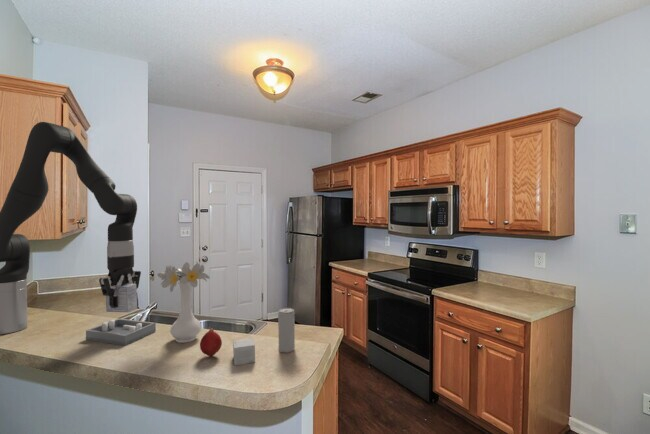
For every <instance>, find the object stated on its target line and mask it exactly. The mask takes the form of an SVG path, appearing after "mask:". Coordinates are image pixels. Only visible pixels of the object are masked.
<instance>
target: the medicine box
mask: <svg viewBox="0 0 650 434" xmlns="http://www.w3.org/2000/svg"><path fill="white" fill-rule="evenodd" d="M114 286H116V285H114ZM113 292H114V289H113ZM137 293H138V292H137V289H136V284H135V283H134V284H123V285H121V287H120V289H119V290H118V293H117V296H118V307H117V308H111V306H110V305H109V296H105V307H106V308H105V312H106V313H130V312H133V311H135V310H137V308H138V294H137Z"/></svg>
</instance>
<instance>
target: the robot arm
mask: <svg viewBox="0 0 650 434" xmlns="http://www.w3.org/2000/svg"><path fill="white" fill-rule="evenodd" d="M24 149H25V150H24V151H23V152H24V153H23V156H22V159H21V162H20V164H19V167H18V169H17V172H16V175H15V177H14V179H13V181H12V183H11V185H10V188H9V189H8V192H7V194H6V197H5V200H4V203H3V204H2V207H1V208H0V263H2V262H3V263H5V264H4V265H3V266H2V267H1V268H0V335H3V334H5V335H6V334H12V333H16V332H18V331H22V330H24V329H26V328H27V327H28V282H27V281H28V279H27V277H28V276H27V275H28V273H29V269H30V259H31V257H30V256H31V255H30V254H31V246H30V245H31V244H30V241H29V239H28V237H26V236H25V235H24V234H20V233H15V232H16V230H17V229H18V228H19V227H20V226H21V225H22V224H23V223H24V222H26V221H27V220H28V219H30V218H31V217H32V216H34V214H36V213H37V212H38V211H39V210H40V209H41V208H42V207H43V205H44V202H45V200H46V198H47V195H48V193H49V182H48V179H47V178H48V177H47V176H46V172H45V168H46V167H45V166H46V163H47V160H48V157H49V155H50V153H56V154H62V155H63V156H65V157H66V158H68V160H70V161H71V162H72V163H73V164H74V167H75V170H76V174H77V176H78V178H79V179H80V181H81V182H82V184H83V185H84V186H85V187H86V188H87V189H88V190H89V191H90V192H91V193H92V194H93V196H94V199H95V200H96V202H97V203H98V205H99V207H100V209H101V210H102V211H103V212H105V213H107V214H108V215H111V216H116V217H115V220H114V222H112V223H110V224H108V227H107V246H106V259H107V260H106V262H107V265H106V267H107V270H108V274H107V276H105V277H100V278H99V285H100V289H101V293H102V296H105V297H106V296H109V305H110V306H111V308H117V307H118V296H117V293H118V290H119V289H120V287H121V285H123V284H136V290H137V289H138V288H139V285H140V280H141V275H142V271H140V270H134V269H133V268H134V267H135V245H134V234H133V233H134V232H133V231H134V230H133V227H134V224H135V220H136V217H137V212H138V204H137V200H136V199H135V197H133V196H132V195H130V194H125V193H117V192H116V191H115V190H116V183H115V182H114V180H112V179H111V177H109V175H108V174H107V173H106V172H105V171H104V170H103V169H101V167H100V165H98V164H97V163H96V161H95V160H94V159H93V158H92V156H91V155H90V154H89V152H88V151H87V149H86V147H85V146H84V145H83V143H82V141H81V140H80V139H79V137H78V136H77V135H76V133H75V132H74V131H73V130H71V129H70V128H69V127H67V126H64V125H63V126H62V125H60V124H56V123H53V122H52V123H51V122H47V121H39V122H37V123H36V124H34V125H33V126H32V128H31V129H30V132H29V134H28V138H27V141H26V145H25V148H24ZM114 285H116V286H114ZM113 289H114V292H113Z"/></svg>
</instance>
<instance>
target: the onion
mask: <svg viewBox="0 0 650 434" xmlns="http://www.w3.org/2000/svg"><path fill="white" fill-rule="evenodd" d="M222 343H223V341H222V337H221V336H220V334H218V333H217V332H216V331H214V328H210V329H209V330H208V331H207V332H206V333H205V334H204V335H203V336H202V337H201V340H200V341H199V348H200V351H201V352H202V354H204V355H206V356H208V357H211V358H212V357H214V356H215V355H216V354H217V353H218V352H219V351H220V349H221V348H222V346H223V344H222Z"/></svg>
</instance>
